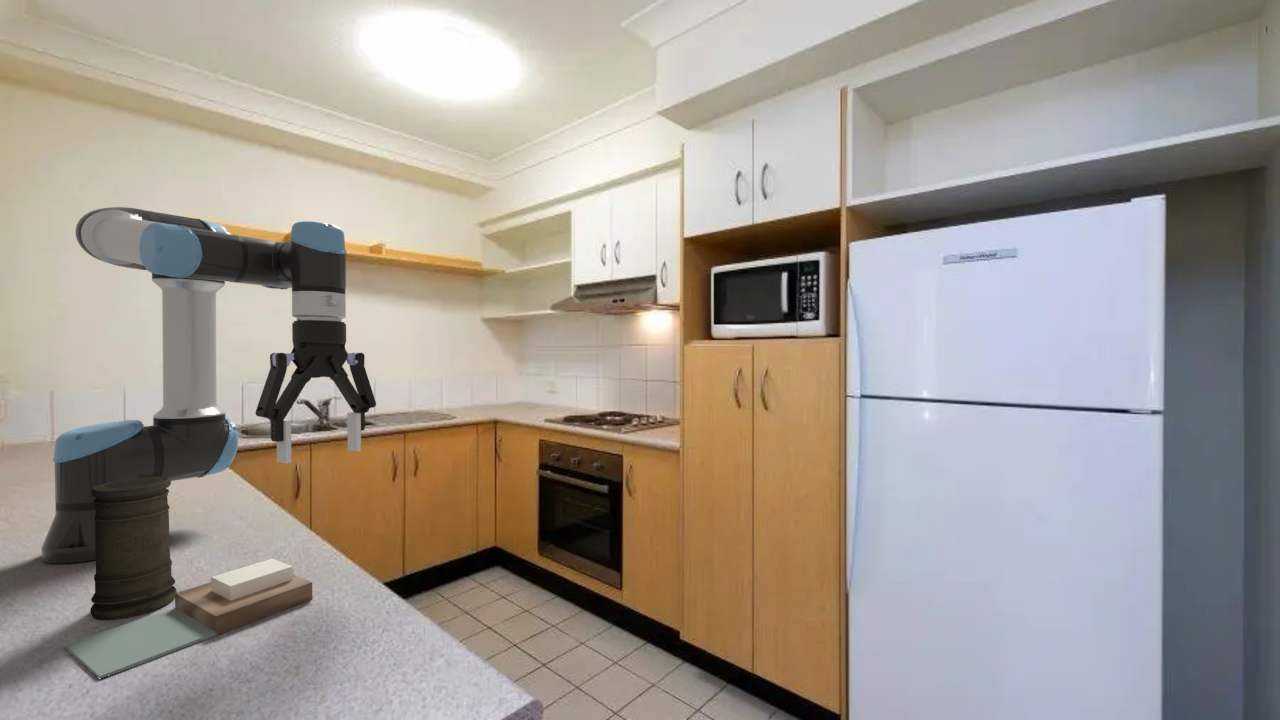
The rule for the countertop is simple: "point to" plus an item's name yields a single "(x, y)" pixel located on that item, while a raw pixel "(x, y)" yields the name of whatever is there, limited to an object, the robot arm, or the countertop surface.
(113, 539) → the container
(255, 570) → the block
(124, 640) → the mat
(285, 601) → the board
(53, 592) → the countertop surface
